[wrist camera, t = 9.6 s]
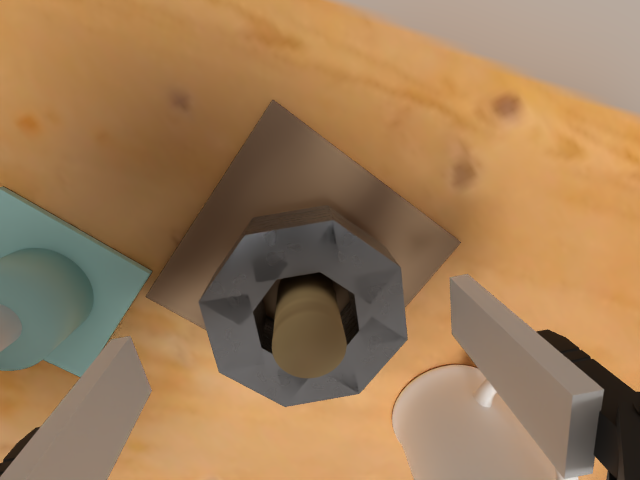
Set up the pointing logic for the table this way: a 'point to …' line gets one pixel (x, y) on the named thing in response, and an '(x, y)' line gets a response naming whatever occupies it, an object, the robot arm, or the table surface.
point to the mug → (464, 430)
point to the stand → (58, 289)
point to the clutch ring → (294, 260)
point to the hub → (288, 195)
